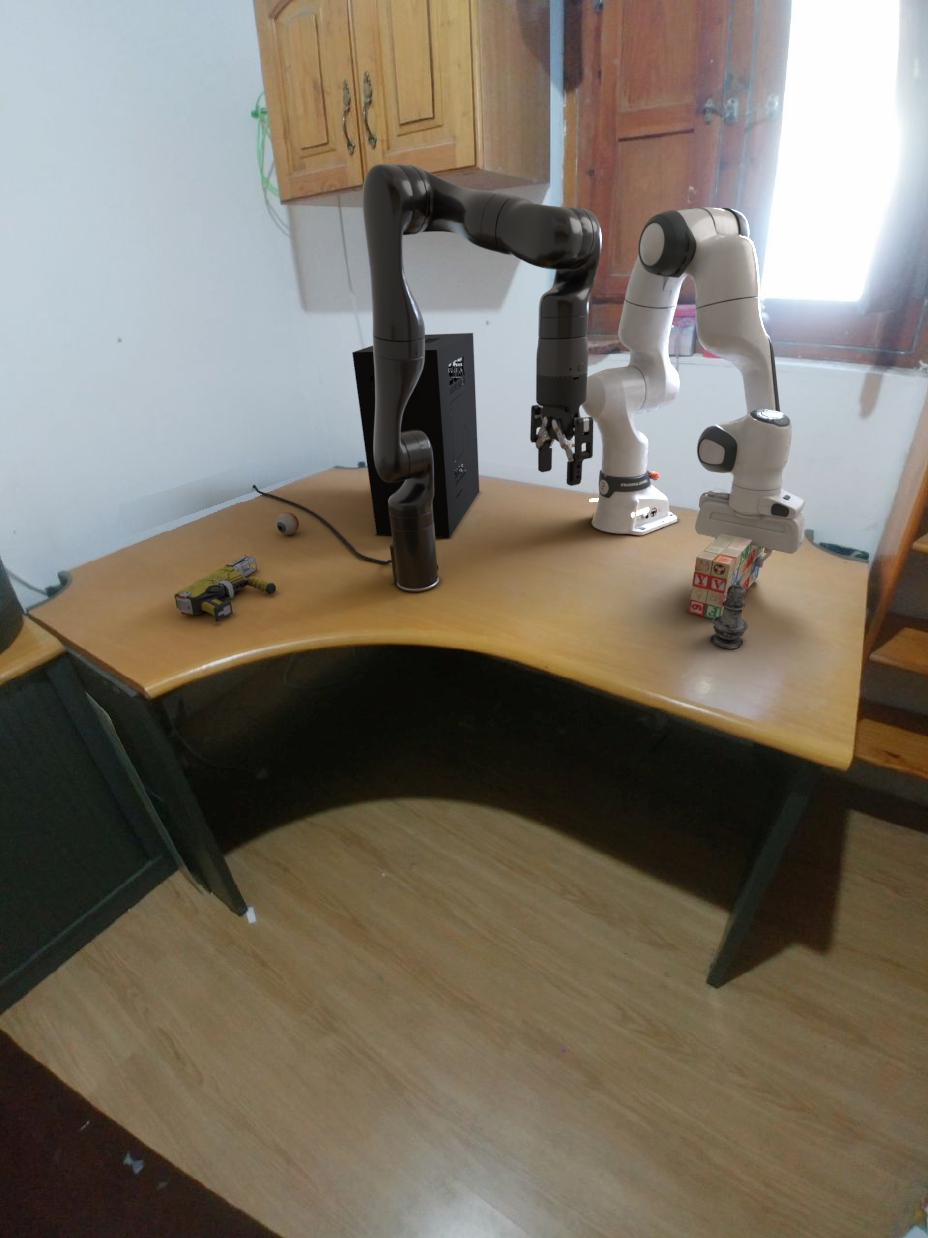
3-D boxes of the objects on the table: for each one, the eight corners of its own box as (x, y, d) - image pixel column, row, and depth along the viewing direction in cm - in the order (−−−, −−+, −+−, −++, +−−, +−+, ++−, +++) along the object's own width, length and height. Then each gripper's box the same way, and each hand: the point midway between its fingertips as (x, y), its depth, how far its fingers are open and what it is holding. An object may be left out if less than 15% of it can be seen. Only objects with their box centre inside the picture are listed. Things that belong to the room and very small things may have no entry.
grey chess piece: (747, 650, 105) (760, 589, 99) (711, 648, 106) (722, 587, 100) (741, 633, 110) (753, 574, 104) (707, 631, 111) (717, 572, 105)
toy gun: (297, 563, 140) (243, 552, 144) (229, 608, 120) (168, 594, 124) (299, 582, 142) (245, 570, 146) (233, 629, 122) (172, 614, 126)
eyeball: (273, 537, 164) (268, 516, 161) (287, 528, 169) (282, 508, 166) (291, 539, 161) (286, 518, 158) (305, 530, 166) (301, 510, 163)
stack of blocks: (728, 570, 131) (737, 517, 125) (758, 577, 128) (769, 523, 121) (687, 612, 118) (695, 555, 111) (719, 622, 114) (730, 563, 108)
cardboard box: (449, 537, 157) (436, 349, 134) (376, 534, 161) (352, 352, 139) (479, 491, 188) (473, 332, 166) (417, 489, 193) (403, 335, 170)
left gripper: (516, 367, 93) (516, 471, 102) (566, 378, 82) (563, 493, 90) (557, 362, 96) (554, 463, 104) (612, 372, 85) (604, 485, 93)
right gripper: (695, 493, 122) (685, 555, 129) (805, 512, 110) (788, 579, 117) (707, 484, 126) (697, 545, 133) (814, 502, 114) (797, 568, 121)
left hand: (558, 477), depth 97 cm, fingers open, 8 cm apart
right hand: (740, 561), depth 125 cm, fingers closed on stack of blocks, 6 cm apart
